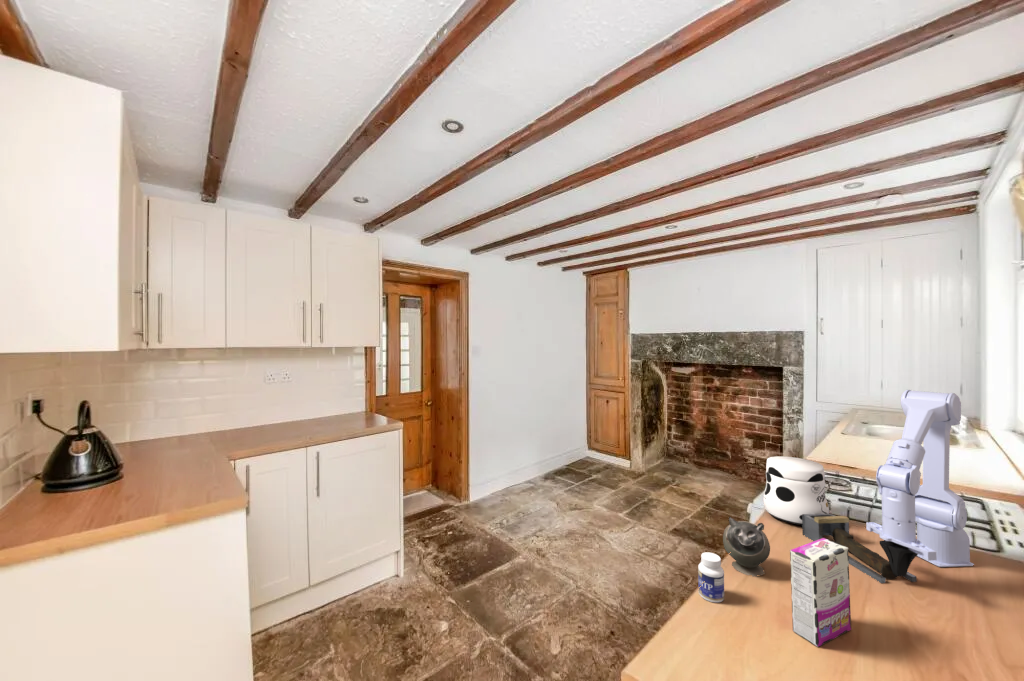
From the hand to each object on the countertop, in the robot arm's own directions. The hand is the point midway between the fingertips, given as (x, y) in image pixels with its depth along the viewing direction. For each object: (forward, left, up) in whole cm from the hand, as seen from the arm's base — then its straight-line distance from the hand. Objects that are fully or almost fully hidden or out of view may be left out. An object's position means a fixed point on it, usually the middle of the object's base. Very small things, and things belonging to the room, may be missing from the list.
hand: (899, 574), depth 95 cm
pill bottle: (+47, +2, -2) cm, 47 cm away
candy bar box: (+31, +14, -2) cm, 34 cm away
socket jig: (0, -12, -2) cm, 12 cm away
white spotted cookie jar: (-1, -35, -2) cm, 35 cm away
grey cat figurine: (+32, -8, -2) cm, 33 cm away
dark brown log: (0, -11, -2) cm, 11 cm away
